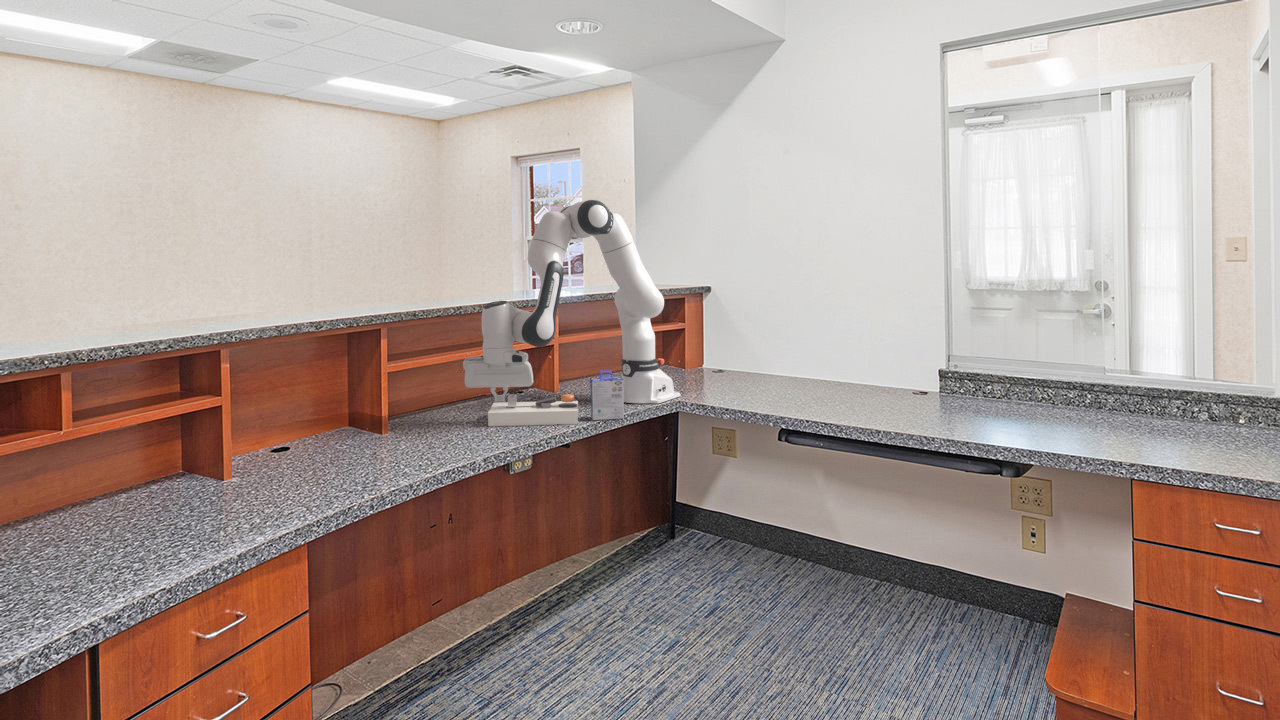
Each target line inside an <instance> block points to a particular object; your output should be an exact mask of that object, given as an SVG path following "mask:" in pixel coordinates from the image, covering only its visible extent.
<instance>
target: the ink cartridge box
mask: <svg viewBox="0 0 1280 720" xmlns="http://www.w3.org/2000/svg"><path fill="white" fill-rule="evenodd" d="M604 373H609V374H604ZM589 389H590V418H591V420H592V421H601V420H602V421H603V420H604V421H605V420H618V419H619V420H624V418H625V409H624V408H625V405H624V403H625V402H624V398H623V379H622V376H613V372H612V369H610V370H609V369H608V370H607V369H606V370H603V369H601V370H599V377H598V378H596V377H594V378H589Z"/></svg>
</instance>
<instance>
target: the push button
mask: <svg viewBox="0 0 1280 720" xmlns="http://www.w3.org/2000/svg"><path fill="white" fill-rule="evenodd" d="M560 401H562V402H573V401H575V394H572V393H571V394H570V393H567V394H566V393H565V394H561V395H560Z"/></svg>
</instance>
